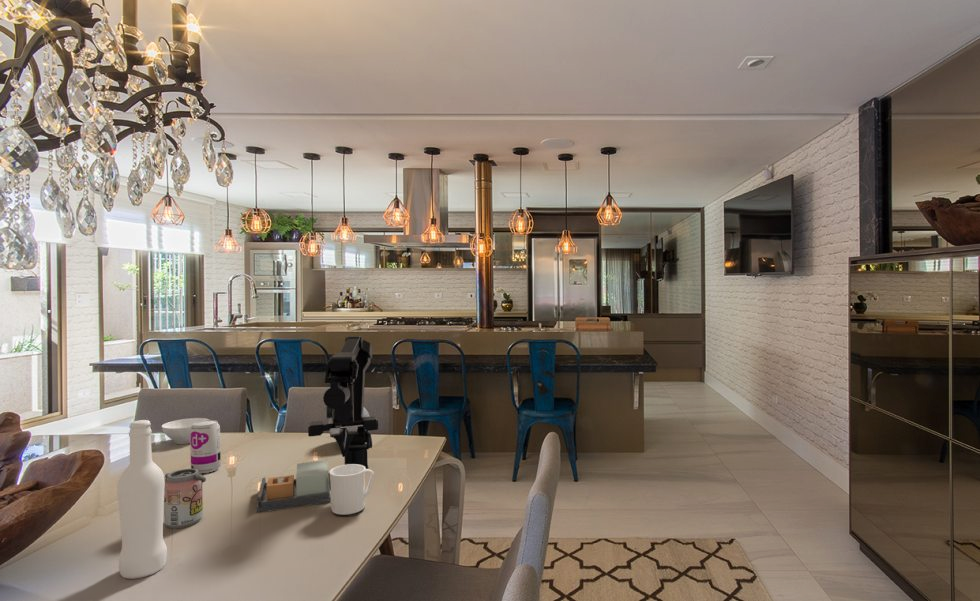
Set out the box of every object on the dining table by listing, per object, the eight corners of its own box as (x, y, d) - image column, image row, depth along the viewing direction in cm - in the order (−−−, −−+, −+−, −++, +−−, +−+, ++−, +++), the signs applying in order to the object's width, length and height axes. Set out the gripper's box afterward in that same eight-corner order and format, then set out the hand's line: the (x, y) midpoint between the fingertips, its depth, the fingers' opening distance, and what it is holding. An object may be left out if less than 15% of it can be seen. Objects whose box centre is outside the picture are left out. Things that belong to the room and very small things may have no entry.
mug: (329, 519, 127) (329, 477, 127) (330, 505, 136) (329, 466, 136) (375, 513, 130) (375, 472, 130) (373, 500, 139) (372, 461, 139)
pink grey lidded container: (180, 512, 133) (179, 465, 132) (213, 512, 132) (212, 465, 132) (155, 529, 123) (154, 478, 123) (190, 529, 123) (189, 478, 123)
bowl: (195, 447, 190) (195, 428, 190) (151, 447, 191) (151, 428, 190) (218, 435, 206) (218, 417, 206) (178, 435, 207) (178, 418, 206)
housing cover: (326, 479, 151) (326, 460, 151) (328, 494, 140) (328, 473, 140) (297, 483, 149) (297, 463, 148) (296, 499, 137) (296, 477, 137)
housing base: (328, 481, 153) (328, 464, 153) (330, 502, 138) (330, 482, 138) (261, 490, 147) (261, 471, 147) (256, 512, 132) (256, 492, 132)
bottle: (134, 560, 109) (130, 416, 108) (175, 558, 110) (171, 415, 109) (109, 582, 101) (105, 426, 100) (153, 579, 101) (149, 425, 101)
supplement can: (208, 475, 160) (207, 426, 160) (184, 474, 162) (183, 425, 162) (226, 466, 168) (225, 420, 168) (204, 465, 170) (203, 419, 170)
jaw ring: (294, 487, 146) (293, 474, 146) (293, 495, 140) (293, 482, 140) (268, 490, 144) (268, 478, 144) (266, 499, 137) (266, 486, 137)
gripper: (373, 393, 157) (374, 444, 158) (307, 398, 151) (308, 452, 152) (378, 400, 147) (379, 455, 147) (307, 406, 141) (308, 463, 141)
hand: (344, 456), depth 147 cm, fingers closed
